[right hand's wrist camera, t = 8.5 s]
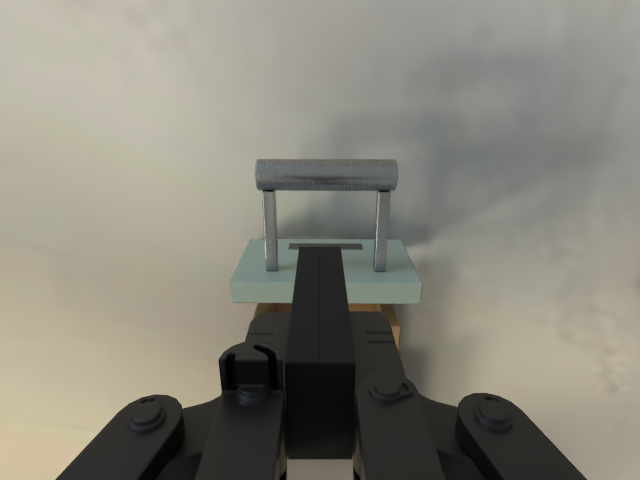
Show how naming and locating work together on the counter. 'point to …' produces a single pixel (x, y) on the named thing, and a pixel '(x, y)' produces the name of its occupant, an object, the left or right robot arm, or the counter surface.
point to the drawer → (328, 241)
